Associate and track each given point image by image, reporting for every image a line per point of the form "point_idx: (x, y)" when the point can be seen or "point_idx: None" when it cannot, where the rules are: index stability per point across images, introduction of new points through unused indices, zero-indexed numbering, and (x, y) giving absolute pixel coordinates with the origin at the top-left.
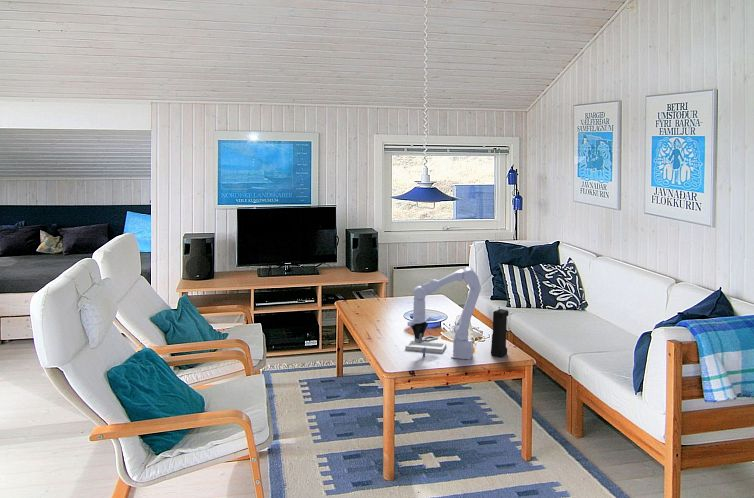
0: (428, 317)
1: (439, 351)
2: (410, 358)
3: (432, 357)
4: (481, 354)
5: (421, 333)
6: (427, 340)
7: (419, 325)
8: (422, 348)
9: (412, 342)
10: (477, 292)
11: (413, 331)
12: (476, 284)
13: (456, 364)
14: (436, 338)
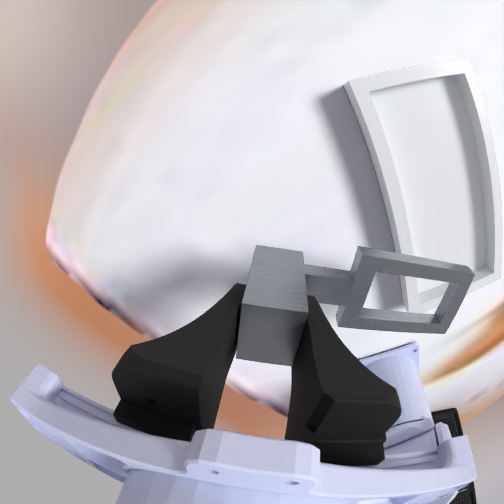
0: (441, 493)
1: (404, 295)
2: (216, 213)
3: None
4: (430, 396)
5: (274, 361)
6: (339, 325)
7: (305, 401)
8: (388, 204)
9: (461, 79)
10: None
11: (198, 319)
12: None
13: (284, 396)
14: (431, 330)
